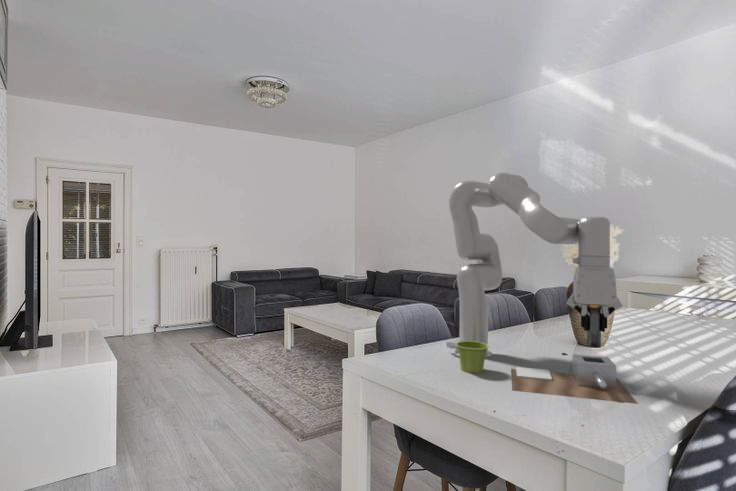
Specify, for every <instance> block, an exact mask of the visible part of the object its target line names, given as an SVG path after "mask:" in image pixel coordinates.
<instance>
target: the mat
mask: <svg viewBox="0 0 736 491" xmlns="http://www.w3.org/2000/svg"><path fill="white" fill-rule="evenodd" d="M515 369H516V372H517V378H528V379H538V380H549V381H552V377H551V375H550V372H551V371H550V370H549V369H545V368H544V369H543V368H533V367H532V368H531V367H523V366H522V367H521V366H516V367H515Z"/></svg>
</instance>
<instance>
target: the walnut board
mask: <svg viewBox="0 0 736 491" xmlns="http://www.w3.org/2000/svg"><path fill="white" fill-rule="evenodd" d="M549 372H550V375H551V377H552V381H549V380H538V379H528V378H517V372H516V368H510V373H511V374H510V376H511V390H512V391H514V392H523V393H531V394H539V395H540V394H543V395H550V396H551V395H552V396H553V395H554V396H560V397H569V398H571V397H572V398H580V399H588V400H596V401H597V400H598V401H609V402H617V403H627V404H635V405H636V404H637V405H638V404H639V402H638V401H637V400H636V399H635V398H634V396H632V394H631V393H630V392H629V391H628V390H627V388H626V387H625V386H624V385H623V384H622V382H621V381H620V380H619V379H618V378H617V377H616V389H608V388H605V389H602V388H598V387H588V386H578V385H577V384H576V382H575V380H574V378H573V376H572V373H565V372H555V371H553V372H552V371H549Z"/></svg>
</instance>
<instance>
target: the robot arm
mask: <svg viewBox="0 0 736 491" xmlns="http://www.w3.org/2000/svg"><path fill="white" fill-rule="evenodd" d="M540 202H541V195H540V194H539V193H538V191H535V190H533V188H531V187H530V186H529V184H528V181H527V179H525V178H524V177H522V176H521V175H517V174H513V173H508V172H499V173H496V174H494V175H493V176H491V177H490V179H489V180H488V183H487V182H481V181H475V180H464V181H461V182H459V183H458V184H456V185H455V186H454V188H453V189H452V190H451V193H450V195H449V199H448V205H449V206H448V207H449V211H450V216H451V219H452V224H453V232H454V233H453V234H454V238H455V244H456V251H457V255H458V256H459V258H461V259H462V260H465V261H476V263H468V264H465V265H463V266H461V268H460V269H459V270H458V272H457V274H456V283H457V289H458V296H459V297H458V298H459V300H458V301H459V339H458V341H455V342H452V341H447V342H446V348H449V349H450V350H451V349H453V350H454V349H455V351H454V355H455V356H456V357H458V358H460V357H459V351H458V347H457V346H456V343H457V342H461V341H475V342H481V343H485V344H487V345H488V346H489V304H488V303H489V302H488V298H487V296H486V293H485V291H491V290H496V289H498V287H499V286H501V284H502V281H503V270H502V269H503V268H502V263H501V257H500V250H499V245H498V244H497V243H498V242H497V241H496V240H495V238H494V237H493V236H491V235H490V234H487V233H481V231H480V227H479V221H478V218H477V216H476V213H475V212H474V210H473V207H478V208H479V207H480V208H492V207H493V208H494V207H498V206H502V205H504V206H505V207H507V208H509V209H510V210H511V211H513V212H514V213H515V214H517V215H518V216H519V218H520V220H521V222H522V223H523V224H524V226H525V227H526V228H527V229H528V230H529V231H531V232H532V233H534V234H535V235H536V236H538V237H539V238H540V239H542V240H543V241H545V242H547V243H549V244H552V245H575V244H576V245H578V246H577V247H578V256H577V257H575V258H574V257H573V258H572V264H577V267H575V270H574V276H573V283H572V284H573V285H572V286H573V287H572V293H571V295H570V296H569V297H568V299H567V301H566V305H567V306H568V307H571V308H572V309H574V310H575V311H577V313H578V314H580V327H581V328H582V329H583V331H584V332H587V331H588V316H587V305H598V306H601V333H605V332H606V329H608V317H609V316H610V315H611V314H613V313H614V311H616V310H619V309H621V308H623V304H622V302H621V301H620V299H619V297H618V295H617V293H618V292H617V282H616V274H615V270H614V269H615V268H613V267H611V265H610V263H611V255H610V254H611V245H610V244H611V235H610V234H611V223H610V220H609V218H608V217H605V216H589V217H588V216H586V217H582V218H572V217H565V216H564V217H563V216H561V217H560V216H558V215H556V214H555V213H553V212H551V211H550V210H548V209H547V208H545V206H543V205H542V204H541V203H540ZM579 305H580V306H579ZM492 355H493V352H492V351H489V347H488V348H487V352H486V354H485V358H488V357H491V356H492Z"/></svg>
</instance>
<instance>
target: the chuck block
mask: <svg viewBox="0 0 736 491" xmlns="http://www.w3.org/2000/svg"><path fill="white" fill-rule="evenodd" d="M571 370H572V372H571V374H572V376H573V378H574V380H575V382H576V384H577V385H578V386H588V387H598V388H602V389H605V388H608V389H616V378H617V365H616V364H615V363H614V362H613V361H612V360H611V359H610V358H609V357H608V356H598V355H585V354H572V369H571Z"/></svg>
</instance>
